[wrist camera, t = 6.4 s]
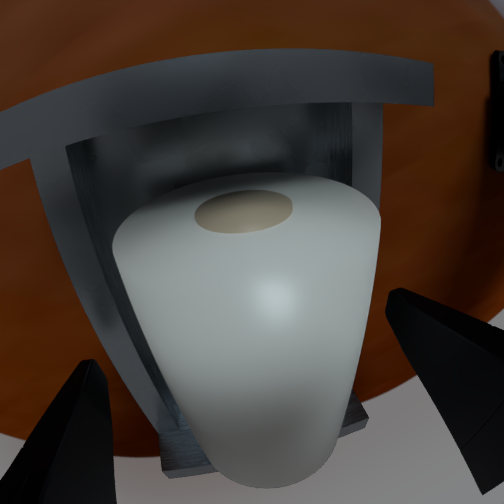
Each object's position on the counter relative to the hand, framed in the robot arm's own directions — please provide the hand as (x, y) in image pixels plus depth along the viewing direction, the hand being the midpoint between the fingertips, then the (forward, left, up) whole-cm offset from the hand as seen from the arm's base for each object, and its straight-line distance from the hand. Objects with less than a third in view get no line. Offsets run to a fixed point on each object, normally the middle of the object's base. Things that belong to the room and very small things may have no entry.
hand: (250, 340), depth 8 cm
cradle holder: (0, 0, -4) cm, 4 cm away
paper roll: (+1, +1, -2) cm, 3 cm away
